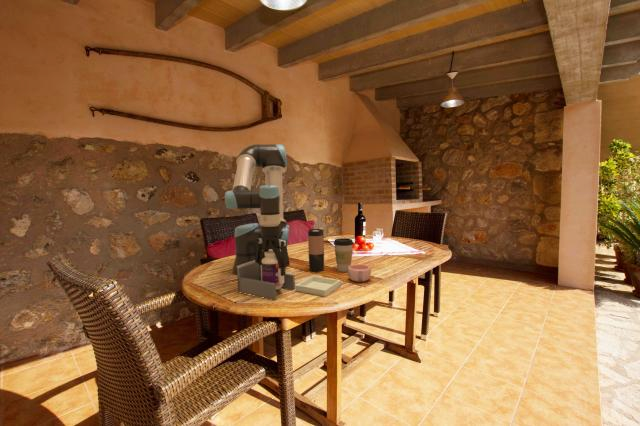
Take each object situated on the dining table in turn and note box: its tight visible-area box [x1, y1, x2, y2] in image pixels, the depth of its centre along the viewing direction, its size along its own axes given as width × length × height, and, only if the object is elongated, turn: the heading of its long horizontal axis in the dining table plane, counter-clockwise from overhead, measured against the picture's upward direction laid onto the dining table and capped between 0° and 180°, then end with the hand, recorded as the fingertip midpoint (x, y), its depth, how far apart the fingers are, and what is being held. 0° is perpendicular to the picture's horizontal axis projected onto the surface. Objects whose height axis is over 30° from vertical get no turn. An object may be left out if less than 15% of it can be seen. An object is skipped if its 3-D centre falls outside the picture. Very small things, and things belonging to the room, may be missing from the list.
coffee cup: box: [333, 237, 354, 273], centre depth 148 cm, size 10×10×15 cm
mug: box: [347, 263, 372, 283], centre depth 134 cm, size 12×10×6 cm
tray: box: [294, 275, 342, 298], centre depth 123 cm, size 14×14×2 cm
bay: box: [236, 260, 296, 301], centre depth 121 cm, size 18×13×11 cm
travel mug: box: [307, 228, 325, 273], centre depth 148 cm, size 8×8×20 cm
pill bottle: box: [262, 249, 283, 290], centre depth 119 cm, size 8×8×14 cm
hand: (272, 281), depth 120 cm, fingers closed on pill bottle, 8 cm apart
